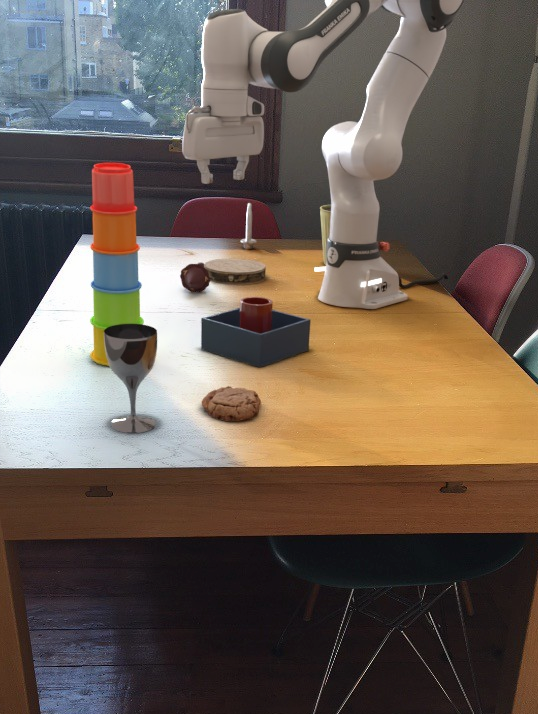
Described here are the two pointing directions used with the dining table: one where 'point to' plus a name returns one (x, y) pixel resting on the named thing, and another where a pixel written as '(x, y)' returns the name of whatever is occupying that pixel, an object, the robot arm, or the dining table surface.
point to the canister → (256, 314)
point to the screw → (248, 229)
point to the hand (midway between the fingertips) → (223, 181)
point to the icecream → (195, 277)
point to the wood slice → (235, 271)
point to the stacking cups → (113, 253)
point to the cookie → (231, 403)
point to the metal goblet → (131, 367)
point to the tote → (255, 338)
